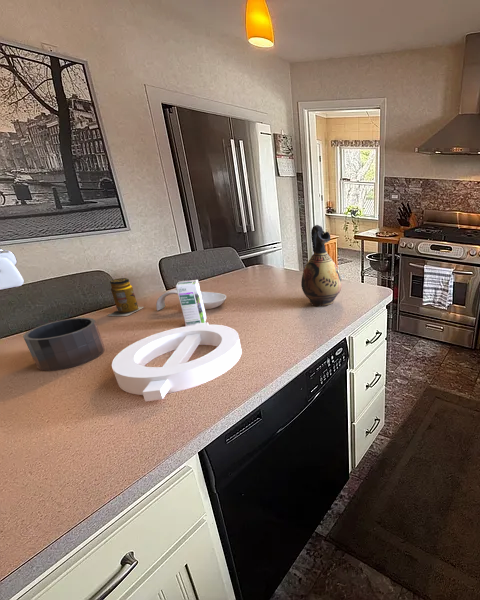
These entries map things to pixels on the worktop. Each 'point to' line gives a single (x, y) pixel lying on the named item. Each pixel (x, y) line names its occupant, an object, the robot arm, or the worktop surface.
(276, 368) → the worktop surface
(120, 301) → the condiment
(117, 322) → the worktop surface
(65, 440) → the worktop surface
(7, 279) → the robot arm
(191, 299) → the syrup box
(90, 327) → the pot
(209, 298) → the spoon rest
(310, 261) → the ceramic jug
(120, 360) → the white circle with bar
